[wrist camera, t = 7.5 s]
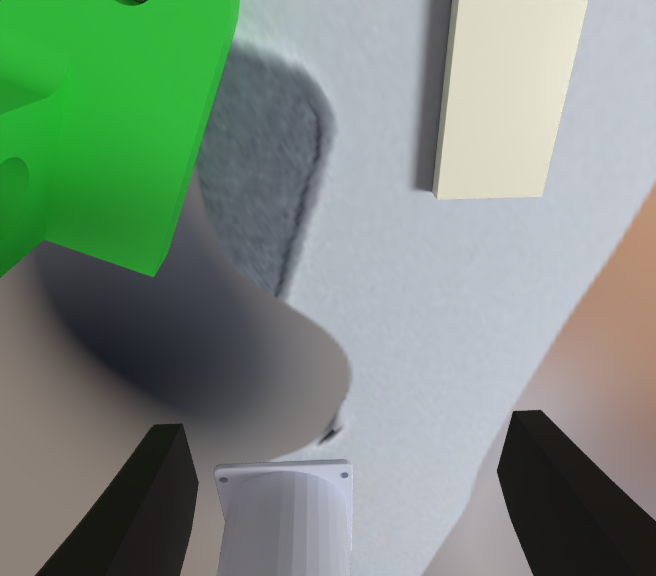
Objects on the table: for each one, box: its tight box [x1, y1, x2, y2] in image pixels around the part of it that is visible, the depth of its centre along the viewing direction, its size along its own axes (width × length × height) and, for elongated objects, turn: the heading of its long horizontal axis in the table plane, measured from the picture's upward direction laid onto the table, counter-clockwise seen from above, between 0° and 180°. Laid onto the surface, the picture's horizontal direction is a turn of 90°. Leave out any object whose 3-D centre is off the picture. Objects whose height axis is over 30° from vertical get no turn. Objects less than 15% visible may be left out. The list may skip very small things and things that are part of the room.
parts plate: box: [432, 0, 588, 200], centre depth 15 cm, size 12×4×1 cm, turn 1°
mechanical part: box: [0, 0, 240, 278], centre depth 12 cm, size 12×6×8 cm, turn 156°
